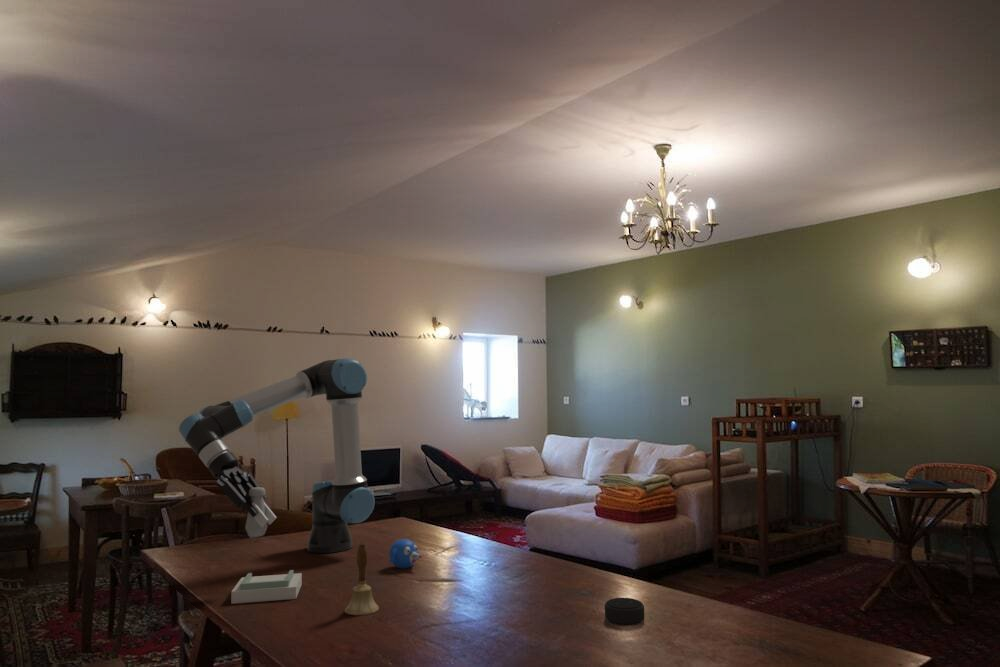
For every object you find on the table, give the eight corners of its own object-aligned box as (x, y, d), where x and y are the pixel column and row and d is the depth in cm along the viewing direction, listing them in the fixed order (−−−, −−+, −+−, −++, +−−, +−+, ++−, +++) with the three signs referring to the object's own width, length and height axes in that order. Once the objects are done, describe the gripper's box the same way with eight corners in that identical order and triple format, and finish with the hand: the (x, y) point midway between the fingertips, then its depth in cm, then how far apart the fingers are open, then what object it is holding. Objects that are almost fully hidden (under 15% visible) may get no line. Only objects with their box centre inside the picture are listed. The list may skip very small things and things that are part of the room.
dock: (301, 584, 191) (301, 567, 191) (296, 598, 177) (296, 581, 177) (241, 588, 188) (241, 571, 188) (231, 603, 174) (231, 585, 174)
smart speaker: (652, 624, 152) (651, 606, 152) (615, 629, 149) (615, 610, 149) (633, 612, 160) (632, 594, 160) (598, 616, 157) (598, 599, 158)
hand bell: (385, 606, 169) (384, 540, 170) (368, 617, 161) (367, 548, 162) (355, 603, 171) (355, 539, 173) (337, 614, 164) (337, 546, 165)
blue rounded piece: (407, 575, 196) (407, 546, 197) (379, 570, 204) (379, 541, 204) (436, 566, 206) (435, 538, 207) (408, 561, 213) (407, 534, 214)
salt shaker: (249, 533, 190) (250, 486, 191) (269, 532, 190) (270, 485, 192) (242, 537, 184) (243, 489, 185) (263, 537, 185) (264, 488, 186)
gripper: (230, 466, 201) (277, 526, 195) (191, 472, 185) (241, 537, 179) (245, 448, 200) (294, 507, 194) (207, 453, 184) (259, 518, 178)
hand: (268, 522), depth 187 cm, fingers closed on salt shaker, 3 cm apart
